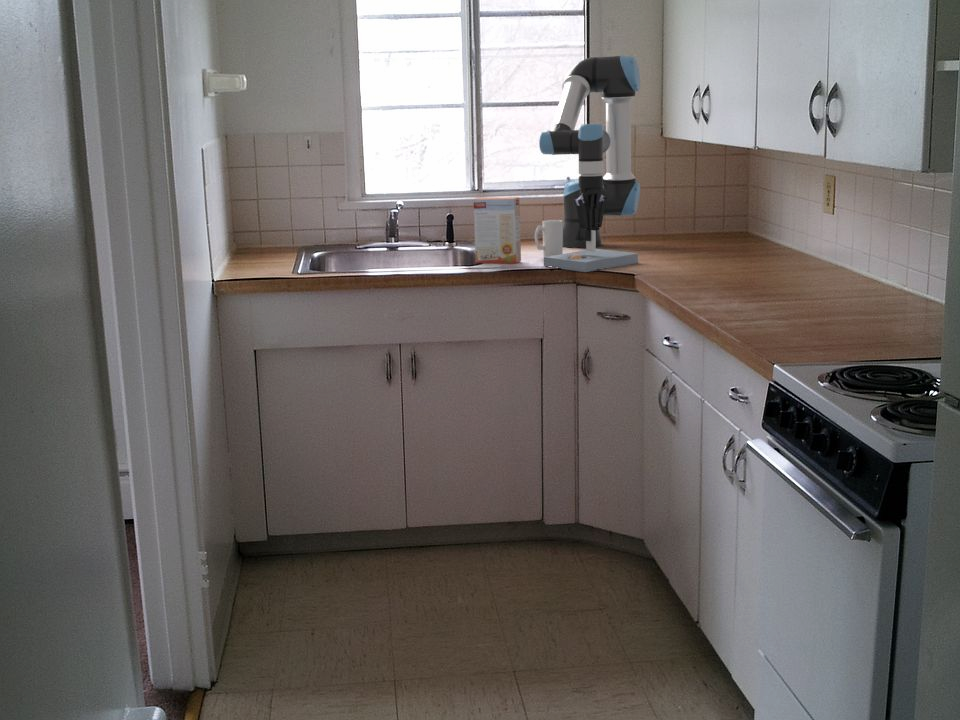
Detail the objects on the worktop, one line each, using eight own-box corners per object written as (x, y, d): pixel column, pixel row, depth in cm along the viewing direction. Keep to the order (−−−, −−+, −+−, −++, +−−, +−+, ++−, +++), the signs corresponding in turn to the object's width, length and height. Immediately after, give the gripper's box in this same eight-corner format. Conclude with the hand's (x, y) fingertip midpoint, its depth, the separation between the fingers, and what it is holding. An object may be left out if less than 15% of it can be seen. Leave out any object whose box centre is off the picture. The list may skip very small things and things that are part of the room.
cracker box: (521, 261, 339) (520, 196, 334) (516, 264, 334) (515, 198, 329) (480, 260, 344) (478, 196, 339) (474, 263, 338) (473, 198, 333)
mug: (557, 255, 351) (557, 219, 349) (566, 257, 345) (566, 221, 342) (530, 257, 348) (529, 221, 345) (539, 260, 342) (538, 223, 339)
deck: (595, 257, 343) (595, 248, 342) (637, 262, 329) (637, 253, 329) (543, 266, 327) (543, 257, 327) (585, 272, 314) (585, 262, 313)
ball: (577, 257, 326) (569, 252, 324) (586, 258, 323) (578, 253, 321) (573, 268, 326) (565, 264, 323) (582, 270, 323) (574, 265, 320)
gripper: (596, 173, 329) (596, 248, 334) (567, 176, 320) (567, 252, 326) (614, 174, 323) (613, 249, 329) (585, 176, 315) (585, 254, 320)
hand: (590, 251), depth 327 cm, fingers closed
